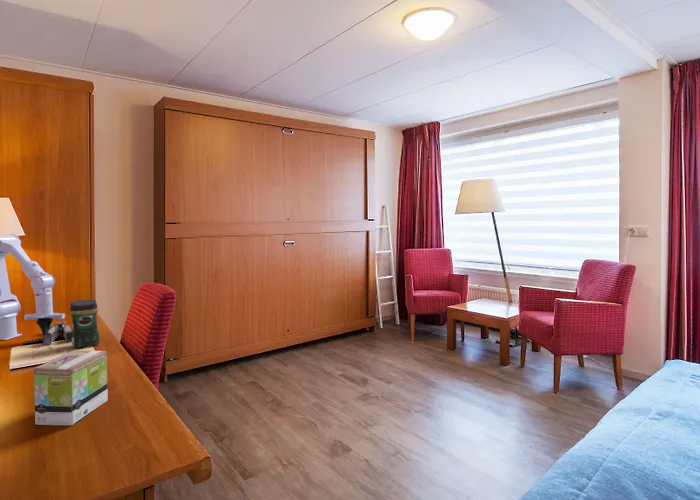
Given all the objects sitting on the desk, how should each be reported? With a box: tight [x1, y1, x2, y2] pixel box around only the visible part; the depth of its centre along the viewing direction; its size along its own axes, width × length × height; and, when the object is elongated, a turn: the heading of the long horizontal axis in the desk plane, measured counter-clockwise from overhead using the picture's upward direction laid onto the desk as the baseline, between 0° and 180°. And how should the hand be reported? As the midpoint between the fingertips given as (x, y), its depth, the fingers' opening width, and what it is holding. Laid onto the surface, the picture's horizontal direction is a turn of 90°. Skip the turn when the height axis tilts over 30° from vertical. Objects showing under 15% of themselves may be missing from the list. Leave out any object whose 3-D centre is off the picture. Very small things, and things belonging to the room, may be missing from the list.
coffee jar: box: [69, 298, 101, 349], centre depth 170 cm, size 10×8×19 cm
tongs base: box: [58, 323, 72, 343], centre depth 182 cm, size 20×4×4 cm, turn 38°
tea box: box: [33, 350, 109, 426], centre depth 112 cm, size 15×10×15 cm
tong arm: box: [42, 320, 67, 346], centre depth 181 cm, size 21×4×5 cm, turn 24°
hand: (45, 336), depth 178 cm, fingers closed, pressing on tong arm
